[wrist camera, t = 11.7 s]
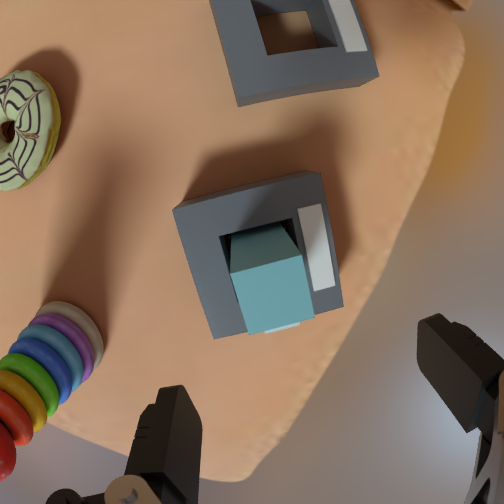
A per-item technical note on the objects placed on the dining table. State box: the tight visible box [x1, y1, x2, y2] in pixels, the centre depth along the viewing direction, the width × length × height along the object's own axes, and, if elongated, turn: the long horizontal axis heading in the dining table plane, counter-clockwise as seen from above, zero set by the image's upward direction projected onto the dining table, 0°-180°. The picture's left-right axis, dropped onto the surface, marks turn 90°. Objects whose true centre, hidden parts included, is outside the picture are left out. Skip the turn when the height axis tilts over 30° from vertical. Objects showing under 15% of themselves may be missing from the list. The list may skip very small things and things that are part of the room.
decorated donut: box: [0, 70, 61, 191], centre depth 20 cm, size 10×11×4 cm
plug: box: [230, 221, 315, 335], centre depth 21 cm, size 4×4×10 cm
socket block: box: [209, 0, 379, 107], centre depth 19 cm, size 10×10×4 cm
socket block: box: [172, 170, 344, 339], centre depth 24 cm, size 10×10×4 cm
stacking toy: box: [0, 301, 104, 481], centre depth 18 cm, size 8×8×19 cm
